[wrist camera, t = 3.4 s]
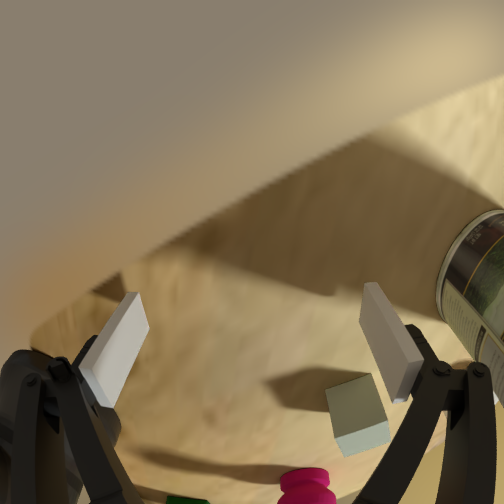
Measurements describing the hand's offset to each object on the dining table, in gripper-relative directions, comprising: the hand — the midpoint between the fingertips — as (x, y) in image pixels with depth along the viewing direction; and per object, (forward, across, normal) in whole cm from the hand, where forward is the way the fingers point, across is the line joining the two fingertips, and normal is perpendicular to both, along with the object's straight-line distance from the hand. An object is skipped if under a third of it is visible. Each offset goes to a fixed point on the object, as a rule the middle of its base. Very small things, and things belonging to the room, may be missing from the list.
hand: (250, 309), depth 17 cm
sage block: (+2, +8, -11) cm, 14 cm away
